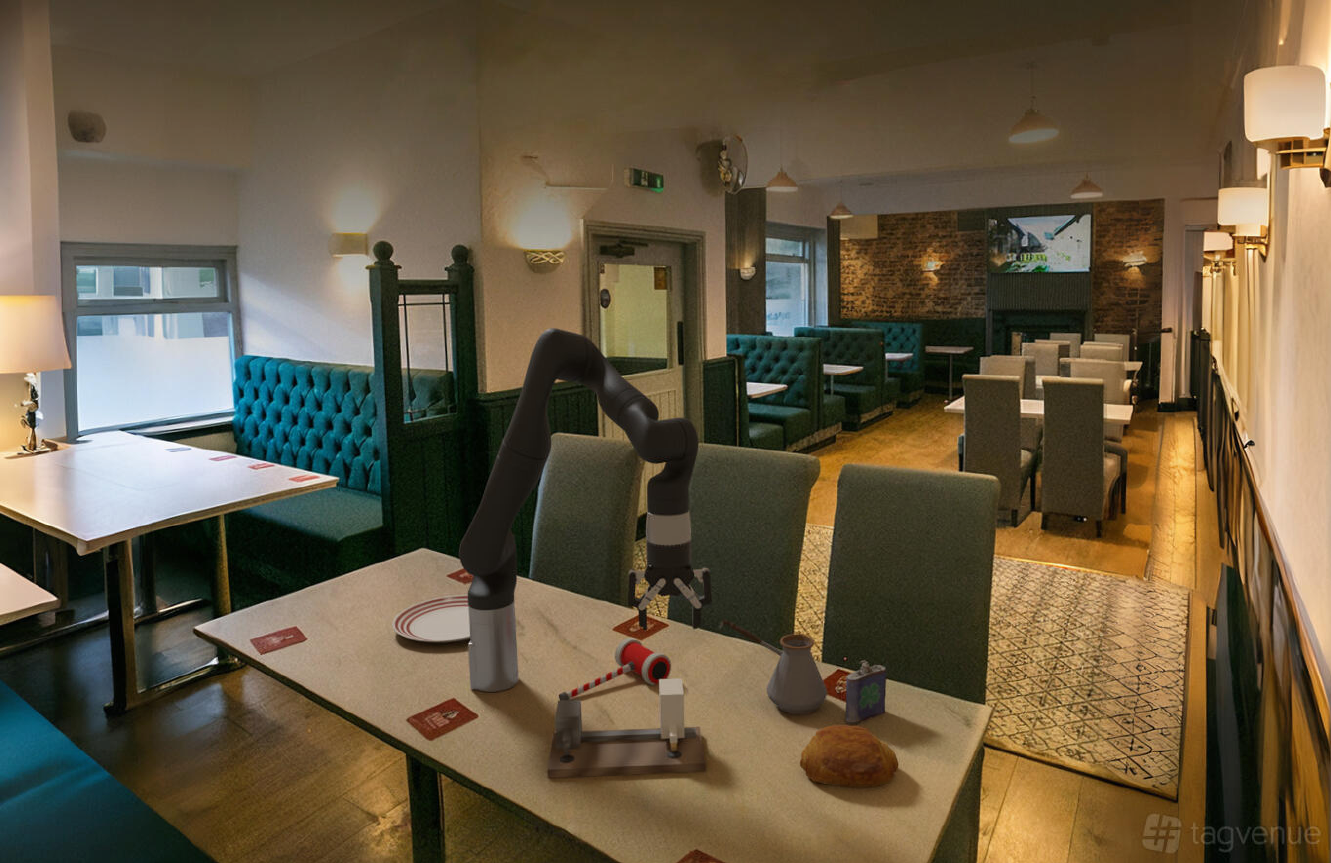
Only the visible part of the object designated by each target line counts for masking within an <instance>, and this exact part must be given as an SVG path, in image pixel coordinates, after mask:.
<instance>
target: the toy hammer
mask: <svg viewBox="0 0 1331 863" xmlns="http://www.w3.org/2000/svg"><path fill="white" fill-rule="evenodd" d="M614 660H615V662H616V664H617V665H618V666H620V667H619V668H617V669H614V670H613V671H610V672H608V673H606V674H604V675H602V676H599V677H598V678H596V679H593V680H591V681H589V682H587V683H585V684H583V685H582V684H581V685H580V686H578V687H576V688H574V689H572V690H569V691H567V692H566V691H564V692H561V693H560V694H558V699H559V701H561V700H572V699H573V698H575V697H577V696H580V695H581V694H583V693H585V692H588V691H590V690H592V689H594V688H596V687H598V686H601V685H602V684H604V683H606V682H609V681H610V680H612V679H616V678H618V677H619V676H621V675H623V674H626V673H628V672H633V673H636V674H638V675H639V676H641V677H642V678H643V680H644V682H646V683H648V684H649V685H651V686H655V685H659V679H669V676H670V674H671V671H672V662H671V659H670V658H669V656H667V655H666V654H664V653H661V652H660V651H659V652H655V651H653V650H651V649H650V648H647V647H645V646H643V644H642V643H641V642H640V640H638V639H636V638H634V637H627V638H625V639H622V641H620V642H619V643H618V645H617V647H616V648H615V652H614Z"/></svg>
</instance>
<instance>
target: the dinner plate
mask: <svg viewBox="0 0 1331 863" xmlns="http://www.w3.org/2000/svg"><path fill="white" fill-rule="evenodd" d="M391 627H392V629H393V631H394V632H395V633H396V634H398V635H399V636H400V637H403V638H405V639H408V640H413V641H419V642H424V643H452V641H453V642H459V641H464V640H470V628H469V611H468V594H459V595H458V594H455V595H447V596H440V597H436V598H430V599H427V600H424V601H420V602H418V603H415V604H413V605H409V607H406V608H405V609H402V611H400V612H399V613H398V614H396V616H395V617H394V618H393V620H392V624H391Z"/></svg>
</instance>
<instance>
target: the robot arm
mask: <svg viewBox="0 0 1331 863" xmlns="http://www.w3.org/2000/svg"><path fill="white" fill-rule="evenodd" d="M523 380H524V381H523V385H522V389H521V391H520V395H519V398H518V400H517V403H516V406H515V409H514V412H513V415H512V417H511V420H510V423H509V425H508V428H507V430H506V433H505V435H504V437H503V439H502V440H501V441H502V442H501V444H500V446H499V447H500V448H499V449H498V451H497V455H496V457H495V460H494V464H493V466H492V470H491V472H490V475H489V477H488V480H487V483H486V485H485V489H484V493H483V496H482V498H481V501H480V504H479V506H478V508H477V510H476V513H475V515H474V516H473V518H472V521H471V522H470V524H469V525H468V528H467V530H466V532H465V534H464V535H463V537H462V539H461V541H460V544H459V548H458V549H459V550H458V557H459V558H458V559H459V562H460V565H461V566H462V568H463V569H464V571H466V572H467V573H468V574H469V575H471V576H472V579H471V583H470V586H469V588H468V589H467V595H468V611H469V628H470V638H469V642H468V646H467V650H468V663H469V664H468V667H469V670H468V671H469V684H470V685H469V686H470V689H471V690H477V691H481V692H486V693H487V692H488V693H491V692H492V693H493V692H494V693H495V692H502V691H505V690H509V689H512V687H514V686H516V684H518V682H519V662H518V660H519V659H518V643H517V640H518V639H517V624H516V623H517V622H516V606H515V605H516V603H515V602H516V601H515V590H516V586H517V580H518V579H517V578H518V573H517V572H518V570H517V569H518V567H517V566H518V565H517V563H518V562H517V561H518V560H517V557H518V556H517V544H516V539H515V536H514V533H513V532H512V530H511V529H512V525H513V523H514V521H515V519H516V517H517V515H518V513H519V511H520V510H521V509H522V507H523V505H524V504H525V503H526V501H527V500H528V498H529V496H530V494H531V493H532V492H533V490H534V489H535V487H536V485H537V484H538V481H539V480H540V477H541V475H542V473H543V471H544V468H545V466H546V463H547V461H548V458H549V456H550V453H551V449H552V434H551V427H550V422H549V415H548V405H549V400H550V396H551V393H552V390H553V387H554V385H555V383H556V381H557V380H559V381H562V382H563V381H564V382H569V383H577V384H579V385H582V386H584V387H585V388H588V389H589V390H591V391H592V392H593V393H594V394H595V395H596V396H597V401H598V404H599V407H600V409H601V410H602V412H603V413H604V414H605V415H606V416H607V417H608V418H609V419H610V420H611V421H612V422H613V423H615V424H616V425H617V426H618V427H619V428H620V429H621V430H622V431H624V433H625V434H626V435H625V436H626V437H627V438H628V441H630V443H631V445H632V447H633V449H634V450H635V453H636V454H637V456H638V457H639V458H641V459H642V460H643V461H645V462H647V463H649V464H652V465H653V464H655V465H657V464H663V463H664V467H663V469H662V470H661V471H660V472H659V473H657V474H655V475H653V476H652V477H650V479H649V480H648V481H647V483H646V484H647V485H646V486H647V487H646V502H647V503H646V508H647V511H646V522H645V538H646V541H645V542H646V568H645V570H636V569H635V568H630V569H629V570H628V585H627V586H628V587H627V606H628V607H630V608H632V607H633V608H635V609H637V611H638V625H639V627H640V628H642V631H647V630H648V614H647V613H648V611H647V610H648V608H647V607H648V606H649V605H650V603H651V601H654V599H655V597H656V596H657V595H658V596H660V597H667V596H673V597H680V595H681V594H682V595H684V597H685V598H686V599H687V600H688V601H689V602H690V603H691V604H692V605H691V613H692V614H691V616H692V618H691V619H692V620H691V623H692V624H691V625H692V629H693V630H698V627H699V626H701V624H702V608H703V607H704V606H706V605H707V606H710V605H711V604H712V603H713V597H712V584H711V573H710V569H709V567H708V566H703V567H702V568H700V569H699V568H697V569H693V567H692V526H691V516H690V491H689V490H690V484H691V480H692V477H693V473H694V468H695V464H696V460H697V456H698V452H699V436H698V432H697V429H696V427H695V425H694V424H693V423H692V421H690V420H689V419H688V418H685V417H673V418H667V419H659V418H660V414H659V409H658V406H657V405H656V404H655V402H654V401H652V400H651V399H650V398H649V397H648V396H647V395H645V394H644V393H643V392H641V391H640V390H639V389H637V388H636V387H635V386H634V385H633V384H632V383H630V382H629V381H628V380H627V379H625V377H623V376H622V374H620V372H618V370H617V369H616V368H615V367H614V366H613V365H612V364H611V363H610V361H609V360H608V359H607V358H606V357H605V356H604V354H603V353H602V351H601V350H600V349H599V348H598V347H597V345H596V344H595V343H594V341H592V340H591V339H590V338H588V337H587V336H586V335H583V334H579V333H575V332H571V331H568V330H564V329H559V328H554V327H553V328H552V327H550V328H547V329H546V330H544V331H543V332H542V333H541V334H540V336H539V337H538V338H537V341H536V343H535V345H534V347H533V349H532V351H531V355H530V358H529V363H528V367H527V369H526V374H525V376H524V379H523ZM695 577H696V579H697V580H698V582H699V583H702V591H703V593H702V595H701V596H698V594H697V593H696V592H695V590H694V589H693V588H692V586H691V585H690V583H691V582H692V581H693V580H694V578H695ZM643 579H644V580H645V581H646V582H647V584H648V586H647V588H646V589H645V591H644V593H643V594H642V596H641V597H640V598H639V597H636V587H637V586H636V585H639V584H640V583H641V580H643Z"/></svg>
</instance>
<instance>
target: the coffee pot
mask: <svg viewBox="0 0 1331 863" xmlns="http://www.w3.org/2000/svg"><path fill="white" fill-rule="evenodd" d="M723 625H725V626H729V628H730V630H735V631H736V632H737V633H739V634H740V635H741V636H743V637H745V638H747V639H748V640H751V641H752V642H755V643H757V644H759V645H761V646H763V647H765V648H766V649H767V650H770V651H771V652H773V653H774V654H776V655H778V656H780V658H779V659H778V661H777V664H776V666H775V668H774V670H773V673H772V675H771V676H770V679H769V681H768V683H767V687H766V694H767V696H768V698H769V700H770V701H771V702H772V704H774V705H775V706H776V707H777V708H778V709H779V710H781V711H783V712H785V713H788V714H793V715H794V714H795V715H803V714H809V713H812V712H814V711H815V710H816V709H817V708H819V707H820V706H821V705H822V704H824V702H825V700H826V699H827V695H828V690H827V687H826V684H825V682H824V680H823V677H822V675H821V673H820V670H819V668H818V666H817V663H816V661H815V659H814V656H813V654H812V652H811V651H812V647H814V645H815V640H814V639H813V638H812V637H809V636H808V635H805V634H802V633H800V634H799V633H798V634H796V633H795V634H788V635H785V636H782V637H780V640H779V643H780V645H781V647H782V650H781V649H779V648H777V647H775V646H773V645H771V644H769V643H768V642H765V641H763V639H761V638H760V637H758V636H756V635H755V634H753V633H752V632H750V631H748V630H747V629H745V628H742V627H740V626H738V625H736V623H734V622H733V623H731V622H730V621H729V620H727V619H724V618H722V620H721V622H720V624H719V626H718V629H721V628H722V627H723Z"/></svg>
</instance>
